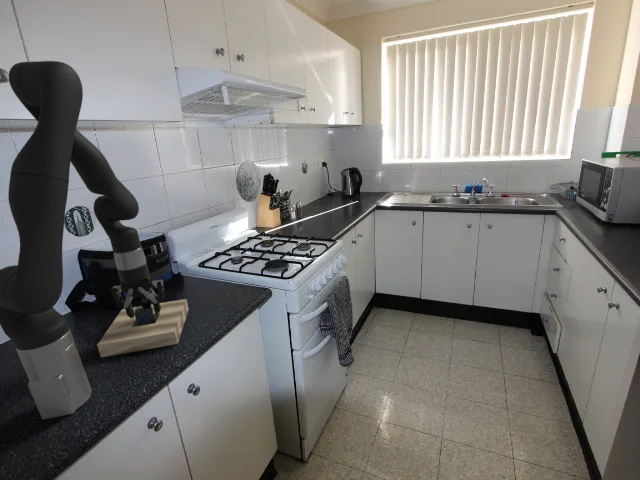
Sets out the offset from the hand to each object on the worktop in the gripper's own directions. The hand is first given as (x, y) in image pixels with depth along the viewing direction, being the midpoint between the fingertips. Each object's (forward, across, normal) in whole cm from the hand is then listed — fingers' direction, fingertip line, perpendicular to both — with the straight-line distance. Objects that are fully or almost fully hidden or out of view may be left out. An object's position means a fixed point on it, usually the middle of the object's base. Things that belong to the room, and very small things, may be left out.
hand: (145, 314), depth 101 cm
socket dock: (+6, 0, 0) cm, 6 cm away
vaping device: (+6, 0, 0) cm, 6 cm away
